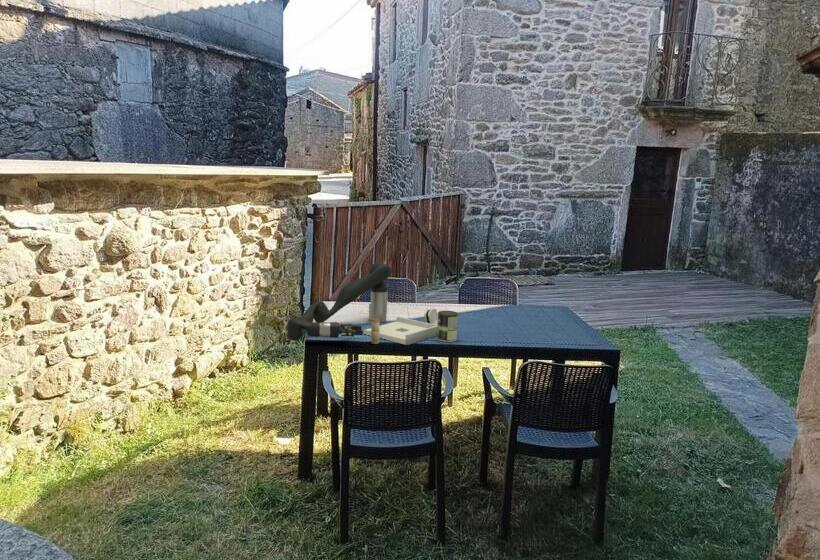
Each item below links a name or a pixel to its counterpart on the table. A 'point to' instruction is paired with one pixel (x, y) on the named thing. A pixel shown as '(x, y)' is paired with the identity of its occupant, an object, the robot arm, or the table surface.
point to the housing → (406, 331)
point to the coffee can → (447, 326)
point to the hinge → (431, 316)
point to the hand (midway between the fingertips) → (362, 330)
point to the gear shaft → (375, 330)
